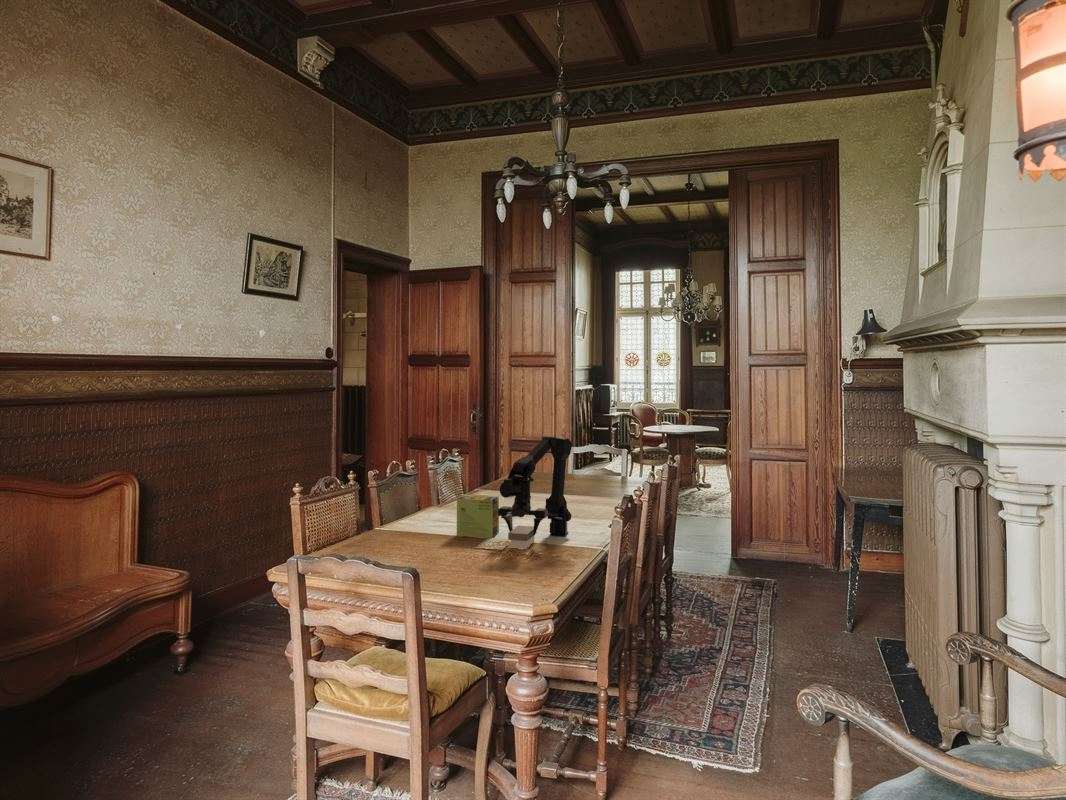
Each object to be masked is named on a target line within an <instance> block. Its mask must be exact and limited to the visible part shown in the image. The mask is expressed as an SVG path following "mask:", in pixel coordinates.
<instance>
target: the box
mask: <svg viewBox="0 0 1066 800" xmlns="http://www.w3.org/2000/svg"><path fill="white" fill-rule="evenodd" d="M533 542H534V543H535V536H532V537H531V538H530V539H529V540H528V541H521V540H511V544H510V549H511V548H523V549H522V550H524V549H526V548H527V547H528V548H529V547H531V546H532V545H533V544H534V543H533ZM532 543H533V544H532ZM531 544H532V545H531ZM530 545H531V546H530ZM528 548H527V549H528ZM527 549H526V550H527Z"/></svg>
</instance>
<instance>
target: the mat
mask: <svg viewBox="0 0 1066 800" xmlns="http://www.w3.org/2000/svg"><path fill="white" fill-rule="evenodd" d="M487 540H488V541H487ZM490 541H491V542H490ZM495 541H496V542H499V541H503V542H501V543H500V544H501V545H502V544H503V543H504V542H505V541H509V542H510V543H511V540H508V539H507V538H498V537H497V538H495V537H493V538H485V539H484V540H483V541H482V542H481V543H479V544H478V545H477V546H480V544H481V545H482V546H483V545H484V544H485V545H486V546H487V545H488V544H489V545H492V544H493V543H492V542H495ZM489 542H490V543H489ZM494 544H495V545H496V544H497V543H494ZM494 547H497V546H494ZM498 547H505V546H498ZM498 547H497V548H493V547H491V548H489V547H486V548H485V547H482V548H485V549H488V548H489V549H498V550H503V549H504V548H498ZM474 548H476V546H475V547H474ZM478 548H481V547H478ZM485 549H484V550H485ZM498 550H497V551H498ZM504 550H505V549H504ZM504 550H503V551H504Z"/></svg>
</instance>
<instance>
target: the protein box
mask: <svg viewBox="0 0 1066 800" xmlns="http://www.w3.org/2000/svg"><path fill="white" fill-rule="evenodd" d="M499 508H500V496H499V495H489V494H488V495H487V494H486V495H484V494H463V495H461V496H460V497H458V498H456V537H462V536H471V537H470V538H479V537H486V538H485V539H487V538H495V536H497V535H498V534H499V533H500V516H498V509H499Z"/></svg>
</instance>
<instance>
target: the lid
mask: <svg viewBox="0 0 1066 800" xmlns="http://www.w3.org/2000/svg"><path fill="white" fill-rule="evenodd" d="M533 530H534V525H533V526H532V525H517V526H515V528H513V530H512V531H509V532H508V537H507V538H508V540H521V541H528V540H529V539H530V538H531V537H532V536H534V535H533ZM537 531H538V530H537ZM537 531H536V534H537V533H538V532H537ZM534 537H535V536H534Z"/></svg>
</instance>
